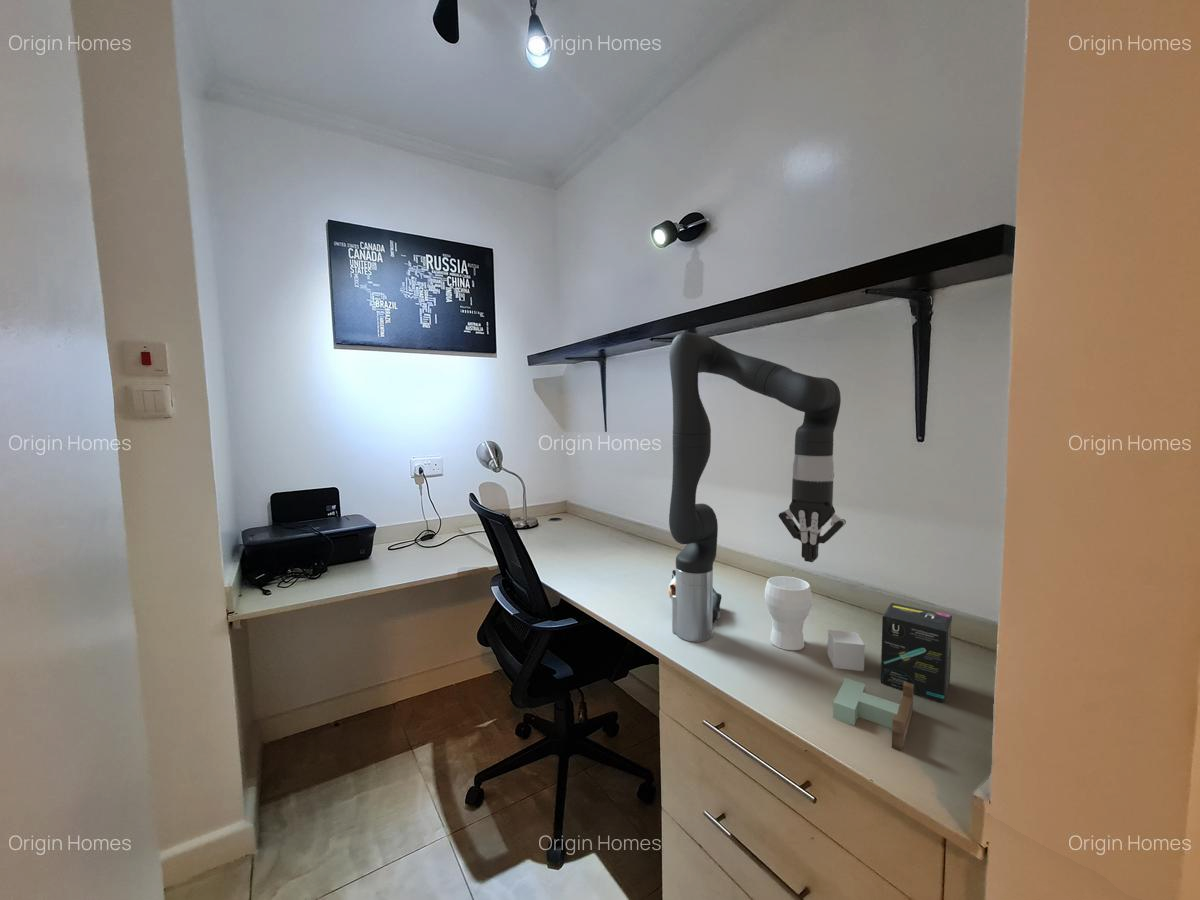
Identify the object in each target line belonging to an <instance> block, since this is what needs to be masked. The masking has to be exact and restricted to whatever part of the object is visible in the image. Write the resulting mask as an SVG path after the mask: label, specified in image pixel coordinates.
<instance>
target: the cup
mask: <svg viewBox="0 0 1200 900" xmlns="http://www.w3.org/2000/svg"><path fill="white" fill-rule="evenodd" d="M764 602H765V605H766V608H767V611H768V612H769V614H770V617H771V622H772V627H771V632H770V637H769V638H770V643H771V644H772V645H773V646H775V647H777V648H778V649H783V650H787V651H800V650H802V649H804V647H805V639H804V637H805V636H804V633H803V630H804V623H805V620H806V619H807V617H808V616H809V614H810V611H811V609H812V605H813V595H812V590H811V585H810V583H809V582H807V581H806V580H803V579H801V578H798V577H793V576H785V575H783V576H782V575H780V576H779V575H777V576H772V577H769V578H768V579H767V581H766V584H765V589H764Z"/></svg>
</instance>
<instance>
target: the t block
mask: <svg viewBox="0 0 1200 900" xmlns="http://www.w3.org/2000/svg"><path fill="white" fill-rule="evenodd" d="M866 685H867V684H865V683H862V682H860V681H857V680H853V679H850V678H847V677H845V679H844V681H843V683H842V685H841V687H840V689H839V690H838V693H837V694H836V697H835V699H834V700H833V701H832V702H833V703H832V704H833V705H832V706H833V708H832V718H833V719H835V720H838V721H841V722H844V723H846V724H848V725H852V726H856V722H857V720H858V718H860V719H861V718H862V719H863V720H866V721H870V722H872V723H875V724H878V725H880V726H883V727H886V728H888V729H891V730H892V722H893V716H894V715H897V713H898V709H899V706H900V703H896V702H893V701H890V700H888V699H885V698H881V697H878V696H877V695H876V696H875V695H872V694H870V693H867V692H866V689H867V688H866V687H867V686H866Z"/></svg>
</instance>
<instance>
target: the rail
mask: <svg viewBox="0 0 1200 900" xmlns="http://www.w3.org/2000/svg"><path fill="white" fill-rule="evenodd" d="M913 690H914V684H911V683H908V682H905V681H904V684H903V690H902V696H901V700H900V703H899V704H900V706H899V709H898V713H897V715H894V716H893V722H892V729H891V749H894V750H897V751H900V752H903V749H904V746H905V742H906V737H907V735H908V734H907V733H908V730H909V725H910V722H911V718H912V714H913V710H914V694H913Z"/></svg>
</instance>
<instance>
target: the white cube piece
mask: <svg viewBox="0 0 1200 900" xmlns="http://www.w3.org/2000/svg"><path fill="white" fill-rule="evenodd" d="M865 647H866V644H865V643H864V642H863V640H862V638H861V637H860V635H859V634H858V632H855V631H844V630H837V629H828V630H827V656H828V659H829V661H830V662H831V665H832V667H833V668H834V669H840V670H841V669H843V670H850V671H851V670H852V671H858V672H864V671H865V651H866V650H865Z"/></svg>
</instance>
